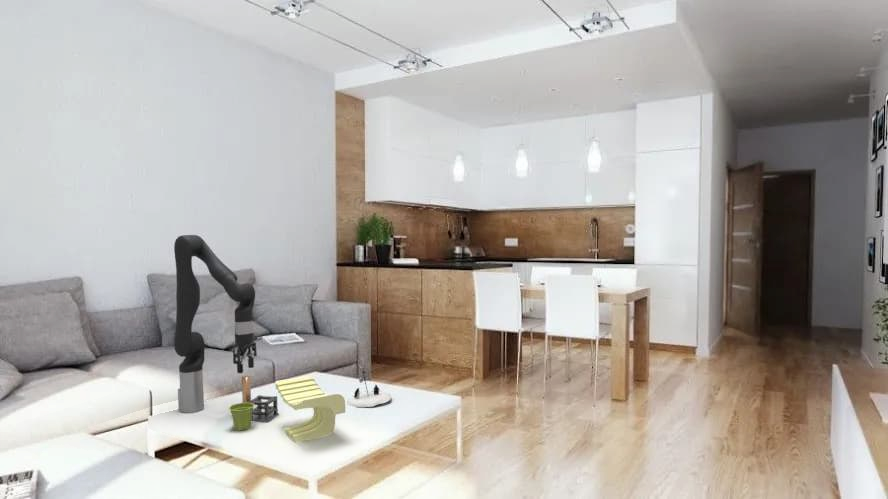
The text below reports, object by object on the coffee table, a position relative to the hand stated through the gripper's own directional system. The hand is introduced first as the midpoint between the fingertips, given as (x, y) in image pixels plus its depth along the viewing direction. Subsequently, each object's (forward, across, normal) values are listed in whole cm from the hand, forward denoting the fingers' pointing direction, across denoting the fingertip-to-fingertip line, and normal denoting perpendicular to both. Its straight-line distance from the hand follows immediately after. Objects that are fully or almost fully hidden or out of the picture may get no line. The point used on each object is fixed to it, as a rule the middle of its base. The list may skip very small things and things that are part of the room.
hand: (245, 370), depth 242 cm
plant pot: (+19, +15, +6) cm, 25 cm away
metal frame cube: (+19, +3, +9) cm, 21 cm away
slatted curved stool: (+19, +15, +35) cm, 42 cm away
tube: (+19, 0, 0) cm, 19 cm away
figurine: (+20, -25, +45) cm, 55 cm away
